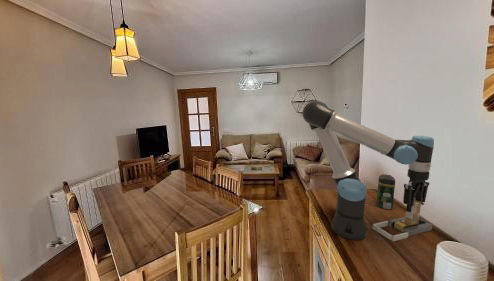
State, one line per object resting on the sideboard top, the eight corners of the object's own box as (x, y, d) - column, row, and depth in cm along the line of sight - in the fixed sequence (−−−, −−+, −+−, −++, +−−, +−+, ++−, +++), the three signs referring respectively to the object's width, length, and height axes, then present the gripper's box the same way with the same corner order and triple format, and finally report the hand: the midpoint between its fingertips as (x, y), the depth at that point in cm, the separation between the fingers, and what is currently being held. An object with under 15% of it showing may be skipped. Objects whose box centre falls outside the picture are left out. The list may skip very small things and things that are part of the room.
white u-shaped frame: (392, 242, 86) (393, 237, 86) (372, 229, 96) (372, 224, 95) (407, 238, 89) (408, 233, 88) (386, 225, 98) (386, 221, 98)
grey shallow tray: (406, 237, 89) (407, 231, 89) (387, 226, 98) (387, 220, 97) (431, 230, 94) (432, 224, 93) (411, 220, 102) (411, 215, 102)
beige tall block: (412, 229, 94) (415, 203, 92) (404, 224, 98) (407, 199, 95) (417, 227, 95) (421, 202, 93) (409, 223, 99) (413, 198, 97)
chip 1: (402, 232, 92) (403, 226, 91) (394, 228, 96) (394, 222, 95) (407, 231, 93) (408, 225, 92) (398, 226, 97) (399, 221, 96)
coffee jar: (375, 201, 123) (378, 172, 120) (391, 204, 120) (394, 174, 117) (376, 208, 115) (379, 177, 112) (393, 211, 111) (397, 179, 108)
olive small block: (408, 231, 93) (409, 225, 93) (399, 226, 97) (400, 220, 96) (413, 230, 94) (413, 224, 93) (404, 225, 98) (405, 219, 97)
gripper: (414, 174, 86) (407, 224, 90) (440, 170, 91) (433, 218, 95) (397, 169, 93) (391, 215, 97) (422, 165, 98) (415, 210, 102)
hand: (412, 216), depth 96 cm, fingers closed on beige tall block, 4 cm apart
